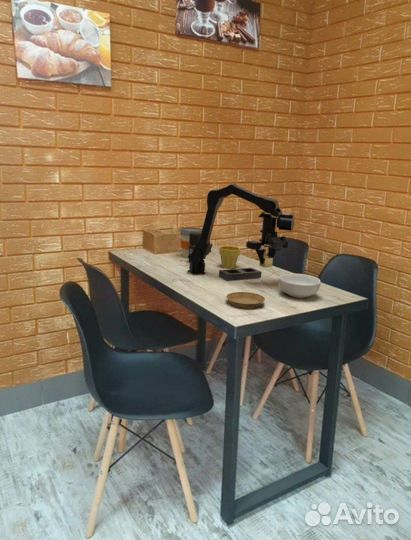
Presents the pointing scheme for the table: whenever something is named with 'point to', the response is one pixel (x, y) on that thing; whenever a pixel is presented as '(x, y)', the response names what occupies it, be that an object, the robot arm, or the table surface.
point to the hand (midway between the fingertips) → (265, 263)
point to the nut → (267, 262)
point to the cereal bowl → (299, 285)
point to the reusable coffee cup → (187, 239)
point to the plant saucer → (245, 299)
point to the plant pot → (229, 256)
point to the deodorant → (193, 241)
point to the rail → (239, 274)
